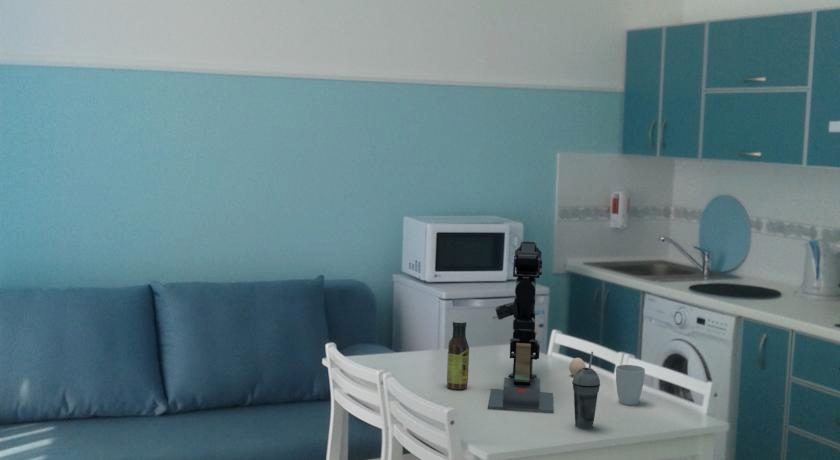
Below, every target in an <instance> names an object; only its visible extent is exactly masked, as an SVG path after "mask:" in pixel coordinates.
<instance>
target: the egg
mask: <svg viewBox="0 0 840 460" xmlns="http://www.w3.org/2000/svg"><path fill="white" fill-rule="evenodd" d="M568 367H569V368H568V370H569V372H570V374H571V375H572V376H574V375H575V374H576V372H577V371H578V370H580V369H582V368H587V367H586V363H585V361H584V360H583V359H582V358H580V357H575V358H573V359H571V361H570V364H569V366H568Z"/></svg>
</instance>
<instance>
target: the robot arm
mask: <svg viewBox="0 0 840 460" xmlns="http://www.w3.org/2000/svg"><path fill="white" fill-rule="evenodd" d="M519 245H520V246H519V247H518V248H516V249H515V251H514V256H513V269H512V277H513V278H516V279H515V281H516V282H515V289H514V293H515V297H514V301H513V302H509V303H504V304H502V305H499V306H496V307H495V309H494V310H495V312H496V316H497V319H498V320H499V321H500V320H504V318H508V317H511V316H513V318H514V319H513V322H512V329H513V332H512V338H510V343H509V359H513V364H512V373H511V374H509V375H508V378H515V366H516V345H517V343H526V344H531V353H530V379H534V378H537V375H536V374H533V361H534V360H536V361H537V360H539V359H540V350H541V349H540V347H541V345H540V344H539V342H538V340H536V335H537V334H536V332H535V330H536V321H535V320H536V310H535V309H536V292H537V291H536V289H537V279H539V278H540V276H541V275H542V274H543V272H542V271H543V259H542V255H543V254H542V251H541V250H540V248H538V246H537V242H535V241H525V240H524V241H520V244H519Z"/></svg>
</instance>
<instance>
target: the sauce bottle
mask: <svg viewBox="0 0 840 460" xmlns="http://www.w3.org/2000/svg"><path fill="white" fill-rule="evenodd" d="M466 330H467V321H465V320H458V319H457V320H453V321H452V337H451V339H450V340H449V341H448V346H447V347H448V348H447V350H448V352H447V365H446V366H447V367H446V387H447V388H448V389H450V390H456V391H457V390H465V389H467V388H468V383H469V382H468V381H469V363H470V362H469V361H470V359H469V358H470V347H469V346H470V345H469V344H468V341H467V340H468V339H467V337H466Z"/></svg>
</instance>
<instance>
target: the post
mask: <svg viewBox="0 0 840 460" xmlns="http://www.w3.org/2000/svg"><path fill="white" fill-rule="evenodd" d="M530 353H531V344H526V343H517V345H516V366H515V381H521V382H529V379H530Z"/></svg>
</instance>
